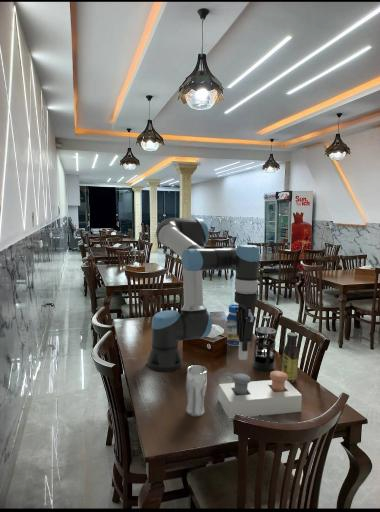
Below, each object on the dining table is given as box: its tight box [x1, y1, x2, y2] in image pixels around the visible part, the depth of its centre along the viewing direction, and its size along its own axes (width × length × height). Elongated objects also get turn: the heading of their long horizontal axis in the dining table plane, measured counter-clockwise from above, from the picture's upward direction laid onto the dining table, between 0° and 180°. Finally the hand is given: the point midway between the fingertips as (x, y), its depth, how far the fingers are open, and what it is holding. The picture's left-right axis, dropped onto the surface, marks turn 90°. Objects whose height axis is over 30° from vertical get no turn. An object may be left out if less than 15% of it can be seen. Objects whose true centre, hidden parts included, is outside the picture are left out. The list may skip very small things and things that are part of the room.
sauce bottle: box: [281, 331, 300, 384], centre depth 145 cm, size 6×6×20 cm
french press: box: [252, 315, 277, 372], centre depth 157 cm, size 12×9×23 cm
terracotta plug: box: [269, 370, 288, 392], centre depth 127 cm, size 6×6×6 cm
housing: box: [217, 379, 303, 419], centre depth 126 cm, size 26×12×6 cm, turn 102°
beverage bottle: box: [225, 303, 240, 347], centre depth 184 cm, size 8×8×20 cm
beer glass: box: [185, 364, 208, 417], centre depth 121 cm, size 7×7×15 cm
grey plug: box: [232, 373, 251, 396], centre depth 124 cm, size 6×6×6 cm
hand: (242, 358), depth 123 cm, fingers closed
